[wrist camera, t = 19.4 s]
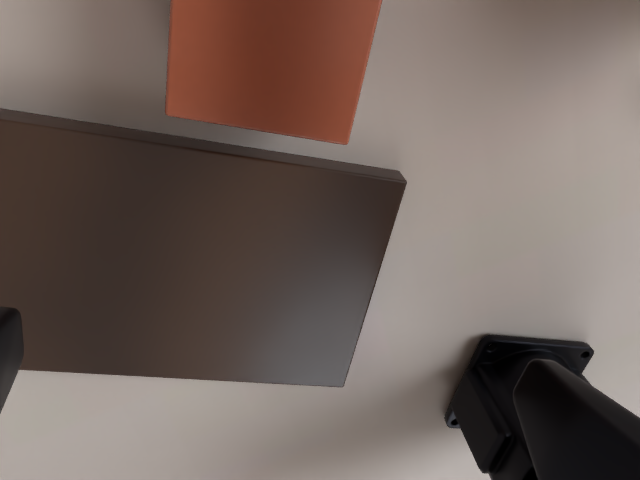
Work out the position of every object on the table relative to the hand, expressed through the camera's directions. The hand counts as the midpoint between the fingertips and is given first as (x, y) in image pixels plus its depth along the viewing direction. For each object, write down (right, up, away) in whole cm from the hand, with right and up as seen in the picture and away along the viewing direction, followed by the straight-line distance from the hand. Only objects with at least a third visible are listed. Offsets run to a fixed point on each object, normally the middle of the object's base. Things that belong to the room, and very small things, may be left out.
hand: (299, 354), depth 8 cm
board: (-7, +1, +11) cm, 13 cm away
